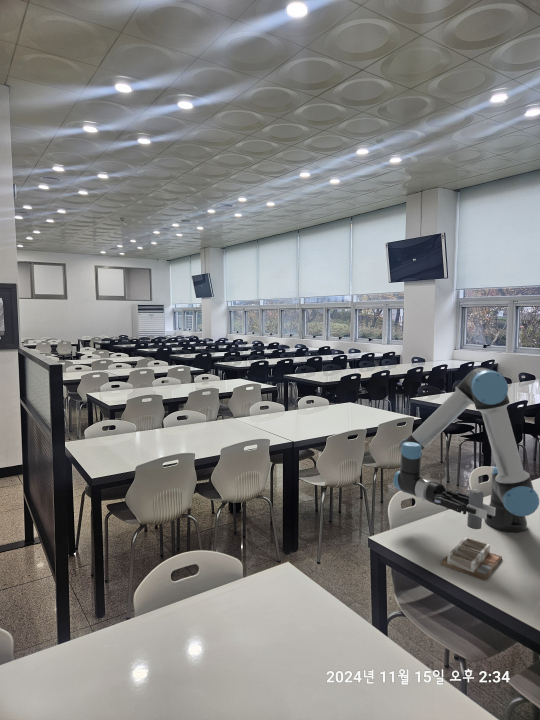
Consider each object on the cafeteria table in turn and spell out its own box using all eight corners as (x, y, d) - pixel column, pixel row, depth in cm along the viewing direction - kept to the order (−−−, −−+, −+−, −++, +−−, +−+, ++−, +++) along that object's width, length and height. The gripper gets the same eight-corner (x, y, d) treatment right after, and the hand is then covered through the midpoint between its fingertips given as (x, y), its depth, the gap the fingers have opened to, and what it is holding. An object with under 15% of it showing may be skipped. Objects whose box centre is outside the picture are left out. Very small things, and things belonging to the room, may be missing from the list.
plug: (469, 522, 163) (471, 486, 162) (483, 526, 160) (485, 489, 159) (465, 526, 159) (467, 489, 158) (478, 530, 157) (481, 493, 156)
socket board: (459, 545, 168) (460, 534, 167) (501, 559, 159) (502, 547, 158) (440, 564, 154) (441, 553, 154) (485, 580, 145) (486, 568, 145)
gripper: (444, 496, 179) (504, 518, 160) (414, 505, 169) (474, 530, 150) (445, 477, 179) (505, 497, 159) (416, 485, 169) (475, 507, 150)
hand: (490, 513), depth 155 cm, fingers closed on plug, 4 cm apart
